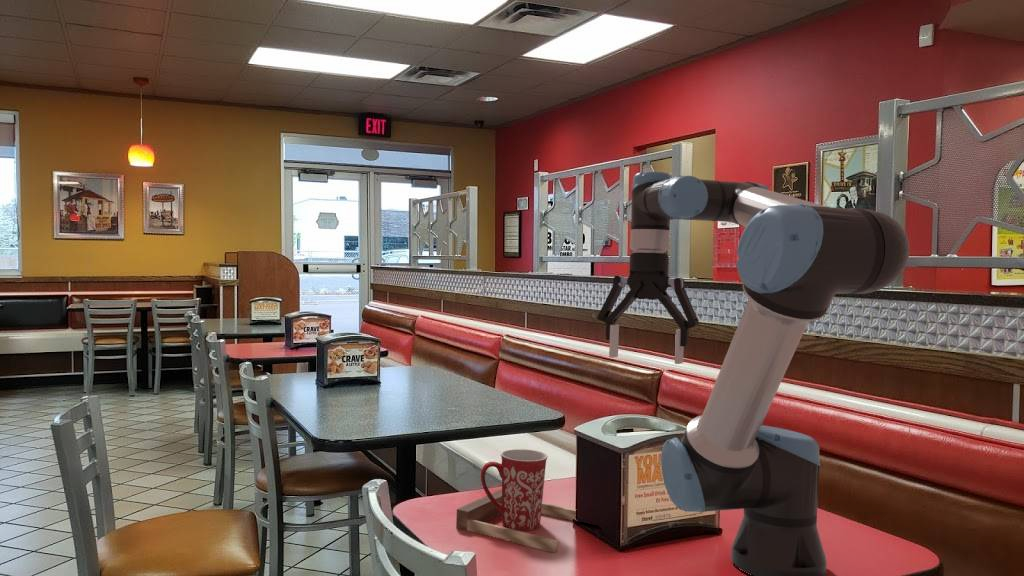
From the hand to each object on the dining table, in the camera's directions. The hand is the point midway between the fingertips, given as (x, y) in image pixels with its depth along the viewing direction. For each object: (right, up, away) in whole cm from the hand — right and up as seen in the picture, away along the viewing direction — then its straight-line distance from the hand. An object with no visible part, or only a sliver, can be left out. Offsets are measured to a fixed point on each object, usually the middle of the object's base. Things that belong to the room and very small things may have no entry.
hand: (645, 360), depth 146 cm
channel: (-23, -31, -5) cm, 39 cm away
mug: (-26, -31, -4) cm, 41 cm away
